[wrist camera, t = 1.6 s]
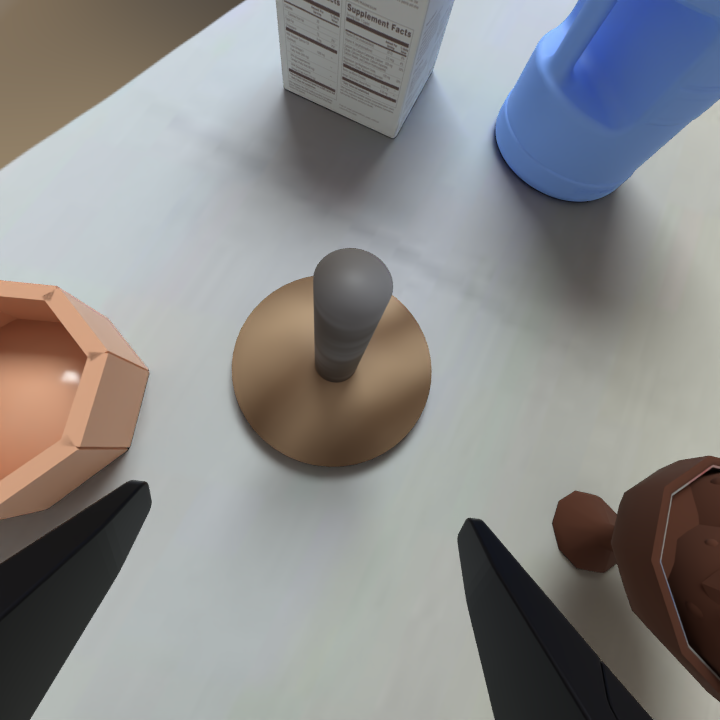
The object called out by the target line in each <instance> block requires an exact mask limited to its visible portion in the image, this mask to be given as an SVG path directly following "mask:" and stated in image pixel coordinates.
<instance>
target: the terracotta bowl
mask: <svg viewBox="0 0 720 720" xmlns="http://www.w3.org/2000/svg"><path fill="white" fill-rule="evenodd" d="M148 375H149V372H148V368H147V367H146V366H145V365H144V363H143V362H142V361H141V359H140V358H139V357H138V356H137V354H136V353H135V352H134V351H133V349H132V348H131V347H130V345H129V344H128V343H127V342H126V340H125V339H124V338H123V337H122V335H121V334H120V333H119V332H118V330H117V329H116V328H115V326H114V325H113V324H112V323H111V321H110V320H109V319H108V318H107V317H105V316H104V315H102V314H100V313H99V312H97V311H96V310H94V309H93V308H91V307H89V306H88V305H86V304H85V303H83V302H81V301H80V300H78V299H77V298H75V297H74V296H72V295H70V294H69V293H67V292H66V291H64V290H62V289H61V288H59V287H57V286H51V285H41V284H31V283H21V282H11V281H2V280H0V520H2V519H6V518H11V517H15V516H20V515H24V514H29V513H33V512H38V511H42V510H45V509H48V508H50V507H51V506H53V505H54V504H55V503H57V502H58V501H59V500H61V499H62V498H63V497H65V496H66V495H67V494H69V493H70V492H72V491H73V490H74V489H76V488H77V487H78V486H80V485H81V484H82V483H84V482H85V481H86V480H88V479H89V478H91V477H92V476H93V475H95V474H96V473H97V472H99V471H100V470H101V469H103V468H104V467H105V466H107V465H108V464H110V463H111V462H112V461H114V460H115V459H116V458H118V457H119V456H120V455H122V454H123V453H125V452H126V451H127V450H128V449H127V447H130V445H131V441H132V437H133V434H134V430H135V426H136V422H137V418H138V414H139V410H140V406H141V402H142V399H143V395H144V391H145V387H146V383H147V379H148Z"/></svg>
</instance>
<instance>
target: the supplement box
mask: <svg viewBox="0 0 720 720" xmlns="http://www.w3.org/2000/svg"><path fill="white" fill-rule="evenodd" d="M453 3H454V0H276V8H277V19H278V31H279V42H280V53H281V64H282V76H283V86H284V88H285V89H287V90H289V91H291V92H293V93H296V94H298V95H300V96H302V97H304V98H306V99H308V100H311V101H313V102H315V103H317V104H319V105H321V106H324V107H326V108H328V109H330V110H332V111H334V112H337V113H339V114H341V115H343V116H345V117H347V118H349V119H352V120H354V121H356V122H358V123H360V124H362V125H365V126H367V127H369V128H371V129H373V130H376V131H378V132H380V133H382V134H384V135H386V136H389V137H391V138H395V137H396V135H397V134H398V132H399V130H400V129H401V127H402V125H403V123H404V121H405V119H406V118H407V116H408V114H409V112H410V110H411V109H412V107H413V105H414V103H415V101H416V100H417V98H418V96H419V94H420V92H421V90H422V89H423V87H424V85H425V83H426V81H427V79H428V78H429V76H430V74H431V72H432V70H433V68H434V65H435V62H436V59H437V55H438V52H439V49H440V46H441V42H442V39H443V36H444V33H445V29H446V26H447V23H448V19H449V16H450V13H451V10H452V6H453Z"/></svg>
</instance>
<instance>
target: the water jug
mask: <svg viewBox="0 0 720 720" xmlns="http://www.w3.org/2000/svg"><path fill="white" fill-rule="evenodd" d="M719 99H720V0H578V2H577V4H576V6H575V7H574V9H573V10H572V12H571V13H570V15H569V16H568V17H567V18H566V19H565V20H564V21H563V22H562V23H561V24H560V25H559V26H558V27H556V28H555V29H553V30H551V31H550V32H548V33H547V34H546V35H544V36H543V37H542V39H541V40H540V41H539V43H538V44H537V46H536V48H535V50H534V52H533V53H532V55H531V57H530V59H529V61H528V63H527V64H526V66H525V68H524V70H523V72H522V74H521V75H520V77H519V79H518V81H517V83H516V85H515V86H514V88H513V89H512V90H511V92H510V93H509V95H508V96H507V98H506V100H505V102H504V104H503V106H502V107H501V109H500V111H499V114H498V117H497V121H496V140H497V144H498V147H499V150H500V152H501V154H502V156H503V158H504V159H505V161H506V162H507V164H508V165H509V167H510V168H511V169H512V170H513V171H514V172H515V173H516V174H517V175H518V176H519V177H520V178H521V179H522V180H523V181H525V182H526V183H527V184H529V185H530V186H531V187H533V188H535V189H536V190H538V191H540V192H542V193H544V194H546V195H549V196H551V197H554V198H558V199H561V200H566V201H575V202H583V201H591V200H596V199H599V198H602V197H604V196H606V195H608V194H610V193H611V192H613V191H614V190H615V189H617V188H618V187H619V186H620V185H621V184H622V183H624V182H625V181H626V180H627V179H628V178H629V177H630V176H631V175H632V174H633V173H634V171H635V170H636V169H637V168H638V167H640V166H641V165H642V164H643V163H644V162H645V161H646V160H648V159H649V158H650V157H651V156H652V155H653V154H654V153H656V152H657V151H658V150H659V149H660V148H661V147H662V146H664V145H665V144H666V143H667V142H668V141H669V140H670V139H672V138H673V137H674V136H675V135H676V134H677V133H678V132H680V131H681V130H682V129H683V128H684V127H685V126H686V125H688V124H689V123H690V122H691V121H692V120H694V119H696V118H697V117H699V116H700V115H701V114H702V113H703V112H705V111H706V110H707V109H709V108H710V107H711V106H712V105H713V104H714V103H715V102H717V101H718V100H719Z"/></svg>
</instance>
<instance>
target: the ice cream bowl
mask: <svg viewBox="0 0 720 720" xmlns="http://www.w3.org/2000/svg"><path fill="white" fill-rule="evenodd" d="M552 524H553V528H554V532H555V535H556V539H557V543H558V547H559V550H560V551H561V552H562V553H563V554H564V555H565V556H566V557H567V558H568V559H569V560H570V561H571V563H572V564H573V565H574V566H575V567H576V568H578V569H583V570H588V571H594V572H600V573H605V572H606V571H607V570H609V569H610V568H611V567H613V566H614V565H615V564H617V565H618V569H619V572H620V575H621V579H622V582H623V585H624V589H625V592H626V594H627V597H628V600H629V603H630V606H631V609H632V611H633V612H634V613H635V614H636V615H637V616H638V618H639V619H640V620H641V621H642V622H643V623H644V624H645V625H646V626H647V628H648V629H649V630H650V631H651V632H652V633H653V634H654V635H655V636H656V637H657V638H658V639H659V641H660V642H661V643H662V644H663V645H664V646H665V647H666V648H667V649H668V650H669V651H670V652H671V653H672V654H673V656H674V657H675V658H676V659H677V660H678V661H679V662H680V663H681V664H682V665H683V666H684V667H685V668H686V669H687V671H688V672H689V673H690V674H691V675H692V676H693V677H694V678H695V679H696V680H697V681H698V682H699V683H700V685H701V686H702V687H703V688H704V689H705V690H706V691H707V692H708V693H709V694H711V695H712V696H713V697H714V698H716V699H717V700H718V701H719V702H720V458H717V457H713V456H704V457H698V458H691V459H685V460H679V461H677V462H675V463H672V464H670V465H668V466H666V467H664V468H661V469H659V470H658V471H656V472H655V473H653V474H652V475H650V476H649V477H647V478H646V479H644V480H643V481H641V482H640V483H638V484H637V485H635V486H634V487H632V488H631V489H629V490H628V491H626V492H625V493H624V495H623V497H622V500H621V502H620V505H619V509H618V513H617V514H616V513H615V512H614V511H613V510H612V509H611V508H610V507H609V506H608V505H607V504H606V503H605V502H604V501H603V500H602V499H601V498H600V497H598V496H596V495H593V494H588V493H584V492H579V491H574V492H572V493H571V494H569V495H568V496H566V497H565V498H563V499H561V500H560V501H559V502H558V506H557V509H556V512H555V516H554V519H553V523H552Z"/></svg>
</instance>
